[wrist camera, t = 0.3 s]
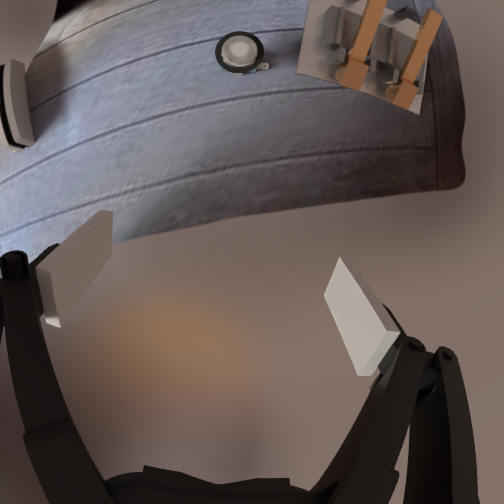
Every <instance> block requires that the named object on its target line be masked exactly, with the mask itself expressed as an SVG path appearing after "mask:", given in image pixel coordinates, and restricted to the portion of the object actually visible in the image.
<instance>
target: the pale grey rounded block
mask: <svg viewBox="0 0 504 504" xmlns="http://www.w3.org/2000/svg"><path fill="white" fill-rule="evenodd" d="M0 140H1V143H2V145H3V147H4V148H7V149H12V150H13V151H14V153H16V152H19V151H22V150H24V148H25V146H29V147H31V146H32V145H33V144H34V143H35V140H34V136H33V130H32V125H31V119H30V113H29V107H28V100H27V92H26V83H25V68H24V63H22V62H19V61H16V60H14V59H11V60H8V61H6V62H5V64H4V65H0Z"/></svg>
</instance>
